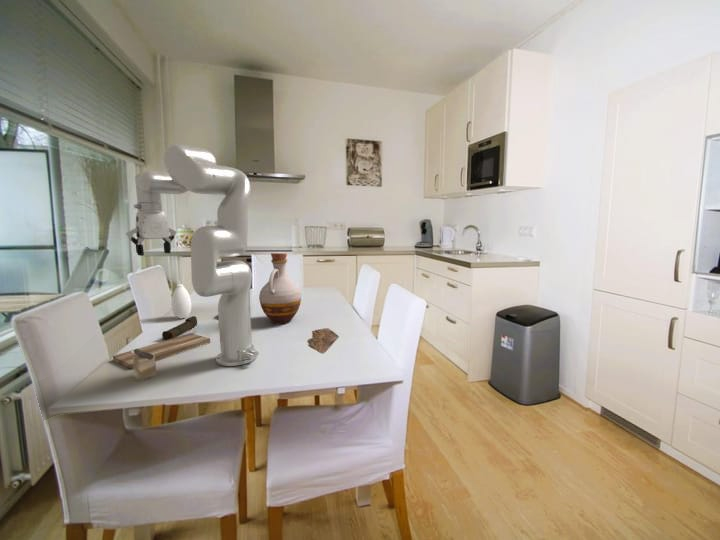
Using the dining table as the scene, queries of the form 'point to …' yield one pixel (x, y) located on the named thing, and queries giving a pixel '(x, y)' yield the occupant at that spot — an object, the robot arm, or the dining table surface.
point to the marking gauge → (144, 364)
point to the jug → (280, 293)
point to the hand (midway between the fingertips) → (154, 254)
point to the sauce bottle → (181, 302)
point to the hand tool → (180, 328)
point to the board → (164, 348)
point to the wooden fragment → (322, 339)
